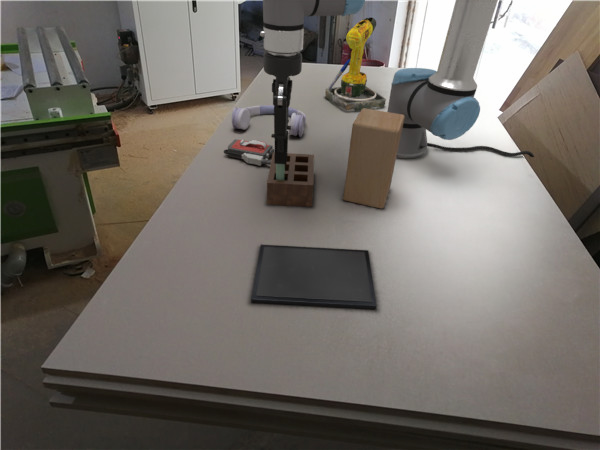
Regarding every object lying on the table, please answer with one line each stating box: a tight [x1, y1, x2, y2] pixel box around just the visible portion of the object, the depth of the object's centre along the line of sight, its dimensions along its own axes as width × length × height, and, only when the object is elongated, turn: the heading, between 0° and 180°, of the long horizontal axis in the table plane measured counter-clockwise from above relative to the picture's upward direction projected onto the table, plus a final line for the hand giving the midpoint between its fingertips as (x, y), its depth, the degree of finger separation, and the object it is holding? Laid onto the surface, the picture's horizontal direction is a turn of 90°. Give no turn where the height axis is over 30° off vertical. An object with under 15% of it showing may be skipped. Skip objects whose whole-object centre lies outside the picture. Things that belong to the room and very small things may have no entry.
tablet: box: [250, 244, 377, 310], centre depth 77 cm, size 22×15×1 cm
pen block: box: [266, 151, 315, 208], centre depth 100 cm, size 11×15×6 cm
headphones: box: [231, 104, 307, 138], centre depth 131 cm, size 22×7×20 cm
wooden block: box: [342, 108, 405, 209], centre depth 95 cm, size 10×10×20 cm
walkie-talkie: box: [223, 138, 275, 167], centre depth 112 cm, size 9×4×20 cm
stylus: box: [276, 164, 285, 181], centre depth 91 cm, size 2×2×17 cm
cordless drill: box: [324, 16, 387, 112], centre depth 145 cm, size 18×19×28 cm
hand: (281, 160), depth 92 cm, fingers closed on stylus, 2 cm apart
